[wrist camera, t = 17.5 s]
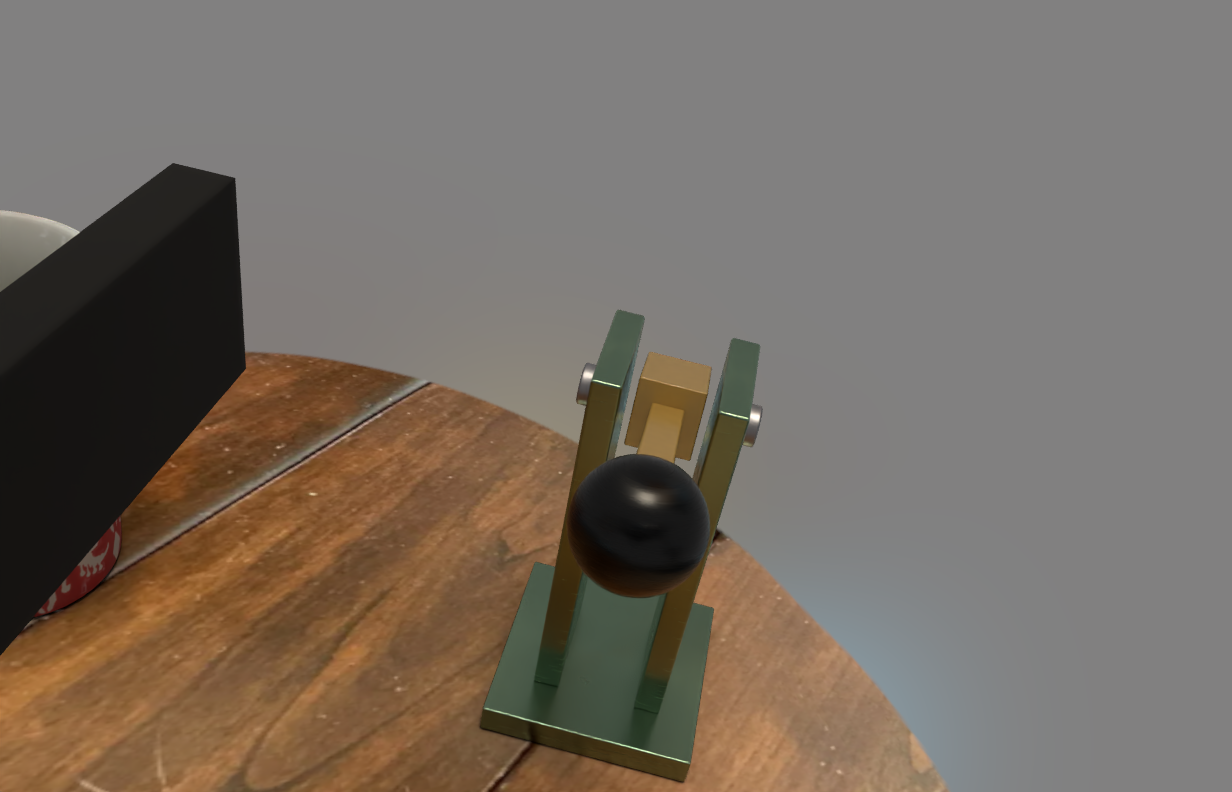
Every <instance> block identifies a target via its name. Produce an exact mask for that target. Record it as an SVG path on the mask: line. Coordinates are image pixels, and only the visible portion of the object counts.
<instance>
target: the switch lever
mask: <svg viewBox="0 0 1232 792" xmlns="http://www.w3.org/2000/svg"><path fill="white" fill-rule="evenodd" d="M711 370H712V368H711V367H709V366H705V365H702V364H697V363H694V362H690V361H686V360H682V359H678V358H674V357H670V356H665V355H661V354H657V353H653V352H649V353H648V356H647V359H646V362H645V364H644V367H643V370H642V373H641V376H640V379H639V383H638V388H637V392H636V396H635V400H634V404H633V409H632V413H631V417H630V422H629V426H628V429H627V434H626V438H625V442H624V443H625V445H629V446H633V447H637V448H638V450H637V453H636V454H630V455H624V456H620V457H616V458H614V459H611V460H609V461H606V462H605V463H603V464H601V465H600V466H598V467H597V468H595V469H594V470H593V471H592V472H590V473H589V474H588V475H587V476H586V478H585V479H584V480H583V481H582V482H581V484H580V485H579V487H578V488H577V490H576V492H575V494H574V496H573V498H572V500H571V503H570V507H569V511H568V516H567V536H568V542H569V545H570V548H571V552H572V554H573V556H574V558H575V560H576V562H577V564H578V566H579V567H580V568H581V570H582V571H583V572H584V574H585V575H586V576H587V577H588V578H589V579H590V580H591V581H593V582H594V583H595V584H596V585H598V586H599V587H601V588H603V589H604V590H606V591H608V592H610V593H613V594H615V595H619V596H622V597H628V598H650V597H654V596H658V595H662V594H664V593H667V592H669V591H671V590H673V589H675V588H676V587H678V586H679V585H681V584H682V583H683V582H685V581H686V580H687V579H688V578H689V577H690V576H691V575H692V574H693V572H694V571H695V570H696V569H697V567H698V566H699V564H700V562H701V560H702V558H703V557H704V554H705V551H706V549H707V545H708V541H709V536H710V518H709V512H708V508H707V504H706V501H705V499H704V496H703V494H702V492H701V490H700V489H699V487H698V485H697V484H696V483H695V481H694V480H693V479H692V478H691V477H690V476H689V475H688V474H687V473H686V472H685V471H684V470H683V469H681V468H680V467H679V466H677V465H675V464H674V462H675V458H680V459H684V460H688V461H690V460H691V455H692V452H693V448H694V444H695V440H696V437H697V433H698V429H699V425H700V421H701V418H702V414H703V410H704V406H705V403H706V398H707V395H708V389H709V383H710V376H711Z"/></svg>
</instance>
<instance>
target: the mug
mask: <svg viewBox="0 0 1232 792" xmlns="http://www.w3.org/2000/svg"><path fill="white" fill-rule="evenodd" d="M78 233H80V232H79V231H77V230H75V229H73V228H71V227H69V226H66V225H64V224H61V223H59V222H56V221H53V220H49V219H46V218H42V217H38V216H33V215H29V214H24V213H18V212H12V211H2V210H0V292H1V291H2V290H3V289H5V288H6V287H7V286H9V285H10V284H11V283H13V282H14V281H15V280H17V279H18V278H19V277H21V276H22V275H23V274H25V273H26V272H28V271H29V270H30V269H32V268H33V267H34V266H36V265H37V264H38V263H40V262H41V261H42V260H44V259H45V258H46V257H48V256H49V255H50V254H52V253H53V252H54V251H56V250H57V249H58V248H60V247H61V246H62V245H64V244H65V243H66V242H68V241H69V240H70V239H72V238H73V237H74V236H76V235H77V234H78ZM121 541H122V532H121V516H119V517H118V519H117V520H116V521H115V522H114V523H113V524H112V526H111V527H110V528H109V529H108V530H107V532H106V533H105V534H104V535H103V536H102V537H101V539H100V540H99V541H98V542H97V543H96V544H95V546H94V547H93V548H92V549H91V550H90V551H89V553H88V554H87V555H86V556H85V557H84V558H83V560H82V561H81V562H80V563H79V564H78V565H77V567H76V568H75V569H74V570H73V571H72V572H71V574H70V575H69V576H68V577H67V578H66V579H65V581H64V582H63V583H62V584H61V585H60V586H59V588H58V589H57V590H56V591H55V592H54V593H53V595H52V596H51V597H50V598H49V599H48V600H47V602H46V603H45V604H44V605H43V606H42V607H41V609H40V610H39V611H38V612H37V613H36V614H35V616H34V617H37V616H40V615H43V614H47V613H50V612H53V611H55V610H58V609H60V608H63V607H65V606H67V605H69V604H71V603H72V602H74V601H76V600H77V599H79V598H81V597H83V596H84V595H85V594H87V593H88V592H90V591H91V590H92V589H94V588H95V587H96V586H97V585H98V584H99V583H100V582H101V581H102V580H103V579H104V578H105V576H106V575H107V574H108V573H109V571H110V570H111V569H112V567H113V565H114V564H115V562H116V559H117V556H118V554H119V552H120V548H121Z"/></svg>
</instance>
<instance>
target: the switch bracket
mask: <svg viewBox="0 0 1232 792" xmlns="http://www.w3.org/2000/svg"><path fill="white" fill-rule="evenodd" d="M644 320H645V318H644V316H642V315H638V314H634V313H630V312H626V311H622V310H617V311H616V313H615V316H614V319H613V322H612V325H611V327H610V330H609V333H608V335H607V338H606V341H605V343H604V346H603V349H602V352H601V354H600V357H599V360H598V363H597V365H594V364H590V363H586V365H585V367H584V369H583V372H582V376H581V379H580V383H579V388H578V392H577V398H576V401H577V403H578V404H581V405H585V406H586V408H585V414H584V419H583V424H582V430H581V435H580V440H579V445H578V450H577V455H576V461H575V466H574V471H573V476H572V482H571V487H570V492H569V497H568V503H567V508H566V513H565V518H564V524H563V529H562V534H561V539H560V545H559V550H558V555H557V560H556V565H555V567H554V566H550V565H546V564H542V563H539V562H535V563H534V566H533V569H532V572H531V574H530V577H529V580H528V583H527V586H526V588H525V591H524V594H523V597H522V600H521V602H520V605H519V608H518V611H517V614H516V616H515V619H514V622H513V625H512V628H511V631H510V633H509V636H508V639H507V642H506V645H505V647H504V650H503V653H502V656H501V659H500V661H499V664H498V667H497V670H496V673H495V675H494V678H493V681H492V684H491V687H490V690H489V692H488V695H487V698H486V701H485V704H484V706H483V711H482V717H481V724H480V727H481V728H485V729H488V730H492V731H496V732H499V733H503V734H507V735H511V736H514V737H518V738H522V739H525V740H529V741H533V742H537V743H540V744H544V745H548V746H551V747H555V748H559V749H563V750H566V751H570V752H574V753H577V754H581V755H585V756H589V757H592V758H596V759H600V760H603V761H607V762H611V763H615V764H618V765H622V766H626V767H629V768H633V769H637V770H641V771H644V772H648V773H652V774H655V775H659V776H663V777H667V778H670V779H674V780H678V781H682V782H684V781H685V778H686V775H687V772H688V770H689V767H690V764H691V758H692V751H693V745H694V738H695V731H696V725H697V718H698V712H699V705H700V698H701V692H702V685H703V679H704V672H705V665H706V659H707V652H708V646H709V639H710V632H711V626H712V619H713V613H714V608H712V607H708V606H704V605H700V604H696V603H693V602H694V599H695V595H696V592H697V589H698V586H699V583H700V579H701V576H702V573H703V570H704V566H705V563H706V560H707V557H708V554H709V550H710V547H711V544H712V541H713V538H714V534H715V531H716V528H717V525H718V521H719V518H720V515H721V512H722V509H723V505H724V502H725V499H726V496H727V492H728V489H729V486H730V483H731V479H732V476H733V473H734V470H735V467H736V463H737V460H738V457H739V454H740V451H741V447H742V445H744V446H748V447H752V446H753V445H754V443H755V440H756V437H757V433H758V430H759V426H760V422H761V417H762V406H759V405H755V404H752V402H753V394H754V387H755V380H756V374H757V367H758V360H759V353H760V345H759V344H756V343H752V342H748V341H744V340H740V339H736V338H733V339H732V340H731V343H730V347H729V350H728V354H727V357H726V361H725V364H724V368H723V371H722V375H721V379H720V382H719V386H718V389H717V393H716V396H715V400H714V403H713V407H712V411H711V415H710V418H709V421H708V425H707V429H706V432H705V435H704V439H703V443H702V446H701V450H700V453H699V457H698V460H697V464H696V467H695V471H694V475H693V478H692V479H693V480H694V481H695V483H696V484H697V485H698V487H699V489H700V490H701V492H702V494H703V496H704V499H705V501H706V504H707V508H708V512H709V518H710V536H709V541H708V545H707V549H706V551H705V554H704V557H703V558H702V560H701V562H700V564H699V566H698V567H697V569H696V570H695V571H694V572H693V574H692V575H691V576H690V577H689V578H688V579H687V580H686V581H685V582H683V583H682V584H681V585H679V586H678V587H676V588H675V589H673V590H671V591H669V592H667V593H664V594H662V595H658V596H654V597H650V598H628V597H622V596H619V595H615V594H613V593H610V592H608V591H606V590H604V589H603V588H601V587H599V586H598V585H596V584H595V583H594V582H593V581H591V580H590V579H589V578H588V577H587V576H586V575H585V574H584V572H583V571H582V570H581V568H580V567H579V566H578V564H577V562H576V560H575V558H574V556H573V554H572V552H571V548H570V545H569V542H568V536H567V516H568V511H569V507H570V503H571V500H572V498H573V496H574V494H575V492H576V490H577V488H578V487H579V485H580V484H581V482H582V481H583V480H584V479H585V478H586V476H587V475H588V474H589V473H590V472H592V471H593V470H594V469H595V468H597V467H598V466H600V465H601V464H603V463H605V462H606V461H609V460H611V459H614V457H615V452H616V448H617V443H618V439H619V434H620V429H621V425H622V420H623V416H624V411H625V407H626V402H627V398H628V393H629V388H630V384H631V379H632V375H633V370H634V366H635V361H636V356H637V352H638V347H639V343H640V338H641V333H642V329H643V325H644Z"/></svg>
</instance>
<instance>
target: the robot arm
mask: <svg viewBox="0 0 1232 792" xmlns="http://www.w3.org/2000/svg"><path fill="white" fill-rule="evenodd" d="M240 274H241V273H240V256H239V239H238V220H237V202H236V184H235V178H233V177H229V176H224V175H220V174H216V173H212V172H208V171H204V170H200V169H196V168H191V167H187V166H183V165H179V164H175V163H173V164H171V165H170V166H168V167H167V168H166V169H164V170H163V171H162V172H160V173H159V174H158V175H156V176H155V177H154V178H152V179H151V180H150V181H148V182H147V183H146V184H144V185H143V186H142V187H140V188H139V189H138V190H136V191H135V192H134V193H132V194H131V195H129V196H128V197H127V198H125V199H124V200H123V201H122V202H120V203H119V204H118V205H116V206H115V207H113V208H112V209H111V210H110V211H108V212H107V213H105V214H104V215H103V216H101V217H100V218H99V219H97V220H96V221H95V222H94V223H92V224H91V225H89V226H88V227H87V228H85V229H84V230H83V231H81V232H80V233H78V234H77V235H76V236H74V237H73V238H72V239H70V240H69V241H68V242H66V243H65V244H64V245H62V246H61V247H60V248H58V249H57V250H56V251H54V252H53V253H52V254H50V255H49V256H48V257H46V258H45V259H44V260H42V261H41V262H40V263H38V264H37V265H36V266H34V267H33V268H32V269H30V270H29V271H28V272H26V273H25V274H23V275H22V276H21V277H19V278H18V279H17V280H15V281H14V282H13V283H11V284H10V285H9V286H7V287H6V288H5V289H3V290H2V291H1V292H0V655H1V654H2V653H3V652H4V651H5V650H6V648H7V647H8V646H9V645H10V644H11V643H12V641H13V640H14V639H15V638H16V637H17V636H18V634H19V633H20V632H21V631H22V630H23V628H24V627H25V626H26V625H27V624H28V623H29V621H30V620H31V619H32V618H33V617H34V616H35V614H36V613H37V612H38V611H39V610H40V609H41V607H42V606H43V605H44V604H45V603H46V602H47V600H48V599H49V598H50V597H51V596H52V595H53V593H54V592H55V591H56V590H57V589H58V588H59V586H60V585H61V584H62V583H63V582H64V581H65V579H66V578H67V577H68V576H69V575H70V574H71V572H72V571H73V570H74V569H75V568H76V567H77V565H78V564H79V563H80V562H81V561H82V560H83V558H84V557H85V556H86V555H87V554H88V553H89V551H90V550H91V549H92V548H93V547H94V546H95V544H96V543H97V542H98V541H99V540H100V539H101V537H102V536H103V535H104V534H105V533H106V532H107V530H108V529H109V528H110V527H111V526H112V524H113V523H114V522H115V521H116V520H117V519H118V517H119V516H120V515H121V514H122V513H123V512H124V510H125V509H126V508H127V507H128V506H129V505H130V503H131V502H132V501H133V500H134V499H135V498H136V496H137V495H138V494H139V493H140V492H141V491H142V489H143V488H144V487H145V486H146V485H147V484H148V482H149V481H150V480H151V479H152V478H153V477H154V475H155V474H156V473H157V472H158V471H159V470H160V468H161V467H162V466H163V465H164V464H165V463H166V461H167V460H168V459H169V458H170V457H171V456H172V454H173V453H174V452H175V451H176V450H177V449H178V447H179V446H180V445H181V444H182V443H183V442H184V440H185V439H186V438H187V437H188V436H189V435H190V433H191V432H192V431H193V430H194V429H195V428H196V426H197V425H198V424H199V423H200V422H201V420H202V419H203V418H204V417H205V416H206V415H207V413H208V412H209V411H210V410H211V409H212V408H213V406H214V405H215V404H216V403H217V402H218V401H219V399H220V398H221V397H222V396H223V395H224V394H225V392H226V391H227V390H228V389H229V388H230V387H231V385H232V384H233V383H234V382H235V381H236V380H237V378H238V377H239V376H240V375H241V374H242V373H243V371H244V370H245V369H246V363H245V345H244V328H243V311H242V310H243V309H242V293H241V292H242V291H241V275H240Z"/></svg>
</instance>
